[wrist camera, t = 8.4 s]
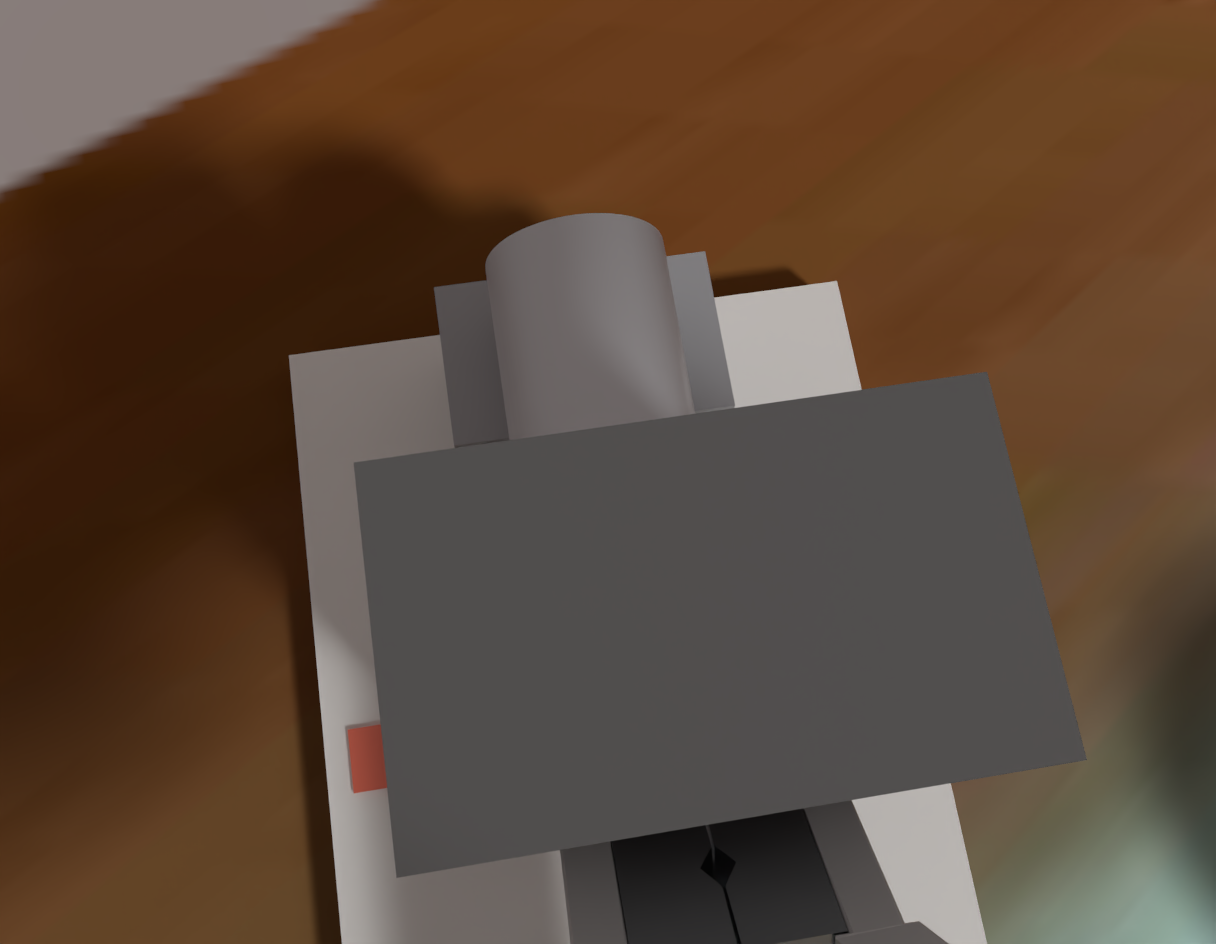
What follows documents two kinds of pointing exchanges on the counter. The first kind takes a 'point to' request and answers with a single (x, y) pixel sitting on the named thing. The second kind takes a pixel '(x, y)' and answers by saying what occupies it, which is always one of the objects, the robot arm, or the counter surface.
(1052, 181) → the counter surface
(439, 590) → the collar
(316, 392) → the pipe stand
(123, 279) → the counter surface
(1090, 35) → the counter surface
